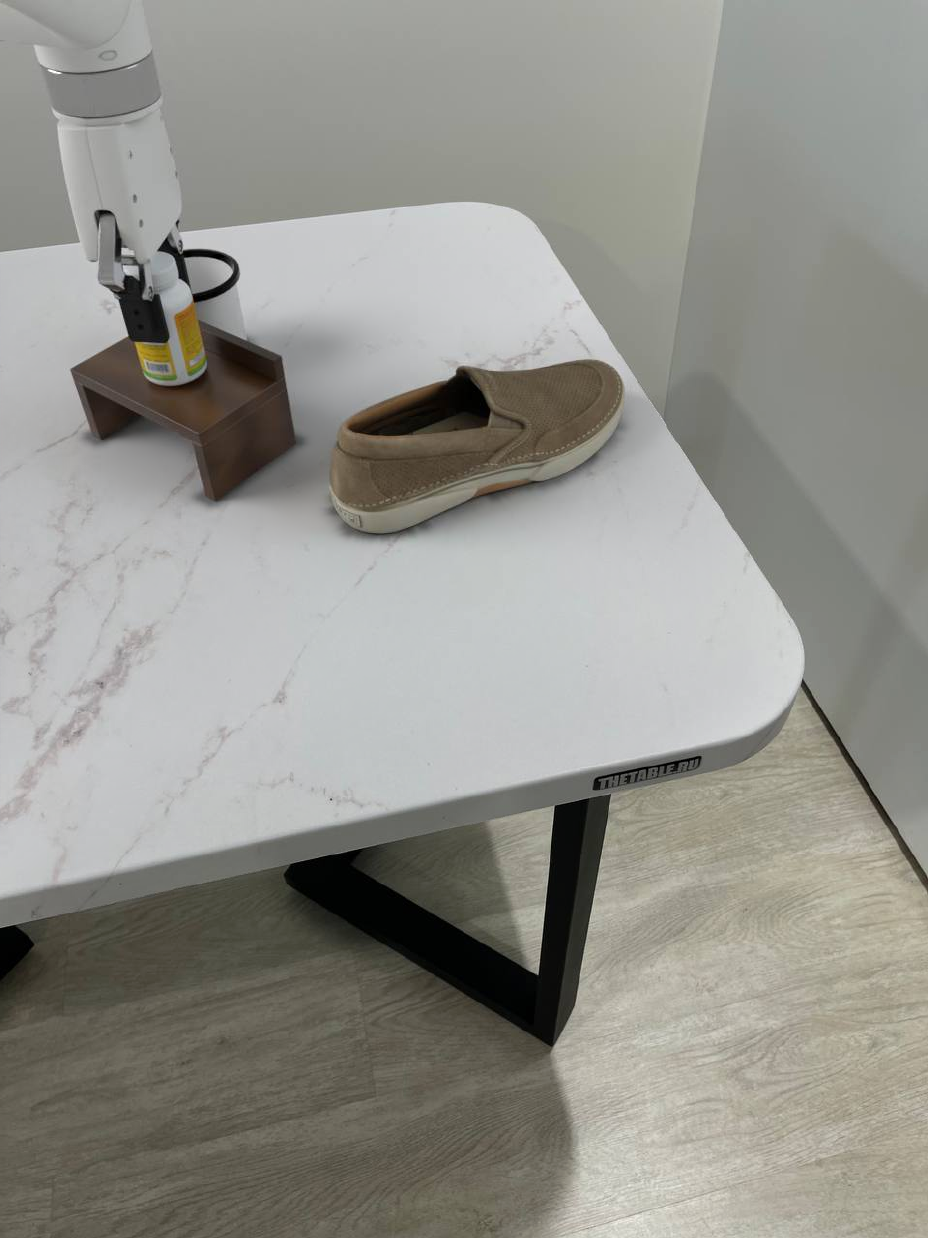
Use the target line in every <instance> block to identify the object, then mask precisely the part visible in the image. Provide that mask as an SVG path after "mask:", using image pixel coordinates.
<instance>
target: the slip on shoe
mask: <svg viewBox="0 0 928 1238" xmlns="http://www.w3.org/2000/svg"><path fill="white" fill-rule="evenodd" d="M624 383H625V382H624V381H623V378H622V377H621V376H620V374H619V372H618V371H617V370H616V368H615V367H613V366H612V365H610V364H608V363H607V362H605V361H602V360H598V359H592V358H591V359H589V358H587V359H586V358H585V359H575V360H571V361H565V362H559V363H555V364H551V365H548V366H543V367H537V368H532V369H521V370H519V369H518V370H509V371H508V370H506V371H503V370H501V371H500V370H489V369H484V368H480V367H475V366H471V365H460V366H458V367H457V368H456V369H455V374H454V375H452V376H451V377H449V378H448V379H447V380H441V381H437V382H434V383H431V384H428V385H425V386H421V387H417V388H415V389H412V390H408V391H406V392H402V393H401V394H397V395H394V396H393V397H389V398H387V399H385V400H382V401H379V402H377V403H375V404H372V405H370V406H367V407H366V408H364V409H362V410H360V411H357V412H356V413H354V414H353V415H350V416H349V417H348V418H346V419H345V420H344V421H343V422H342V423H341V425H340V427H339V429H338V431H337V440H336V441H335V443H334V445H333V448H332V454H331V459H330V460H331V461H330V465H329V466H330V467H329V473H328V476H329V477H328V479H329V487H328V488H329V491H330V497H331V501H332V504H333V507H334V509H335V510H336V512H337V514H338V515H339V516H340V518H341V519H342V520H343V521H344V522H345V523H346V524H348V525H349V526H350V527H351V528H353V529H356V530H358V531H361V532H365V533H370V534H390V533H396V532H399V531H400V532H401V531H403V530H405V529H408V528H411V527H413V526H416V525H418V524H420V523H422V522H424V521H427V520H429V519H430V518H433V517H434V516H437V515H438V514H440V513H443V512H445V511H447V510H450V509H452V508H454V507H456V506H458V505H461V504H463V503H465V502H467V501H469V500H471V499H474V498H477V497H479V496H483V495H485V494H490V493H493V492H498V491H502V490H507V489H510V488H513V487H514V488H515V487H518V486H521V485H525V484H530V483H531V482H543V481H548V480H550V479H554V478H556V477H559V476H562V475H564V474H566V473H568V472H571V471H572V470H573V469H576V468H577V467H578V466H580V465H582V464H583V463H585V462H587V460H589V459H590V458H591V457H592V456H593V455H595V454H596V453H597V452H598V451H599V450H600V449H601V448H603V446H604V445H605V444H606V443H607V441H608V440H610V438H611V436H612V435H613V433H614V432H615V430H616V428H617V427H618V425H619V422H620V420H621V417H622V414H623V410H624V407H625V401H626V400H625V399H626V387H625V384H624Z"/></svg>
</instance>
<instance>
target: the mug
mask: <svg viewBox="0 0 928 1238" xmlns="http://www.w3.org/2000/svg"><path fill="white" fill-rule="evenodd" d="M178 255H182V256H184V259H185V264H186V268H187V273H188V277H189V282H190V286H191V291H192V295H193V301H194V306H195V310H196V315H197V319H198V320H200V321H203V322H205V323H207V324H210V325H212V326H214V327H216V328H219V329H221V330H223V331H226V332H228V333H230V334H232V335H235V336H237V337H239V338H242V339H244V340H246V341H248V338H247V333H246V327H245V322H244V317H243V311H242V307H241V301H240V297H239V290H238V286H237V282H238V281H239V280H240V276H241V269H240V266H239V263H238V261H237V260H236V259H235V258H234V257H233V256H232V255H229V254H228V253H225V252H223V251H220V250H216V249H210V248H186V249H185V248H184V249H183V252H182V254H178Z"/></svg>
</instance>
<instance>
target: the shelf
mask: <svg viewBox="0 0 928 1238" xmlns="http://www.w3.org/2000/svg"><path fill="white" fill-rule="evenodd" d="M198 324H199V328H200V333H201V337H202V342H203V346H204V350H205V355H206V361H207V366H206V369H205V371H204V372H203V374H202V375H200V376H199V377H198V378H196V379H195V380H193V381H191V382H188V383H185V384H181V385H176V386H164V385H158V384H155V383H153V382H151V381H149V380H148V379H147V378H146V377H145V375H144V373H143V370H142V366H141V363H140V359H139V355H138V352H137V348H136V345H135V342H133V341H131V340H130V339H129V336H126V337H124V338H122V339H121V340H119V341H116V342H115V343H113V344H112V345H109V346H108V347H106V348H105V349H103V350H101V351H100V352H97V353H95V354H94V355H92V356H90V357H88V358H86V359H85V360H83V361H82V362H80V363H78V364H76V365H74V366H73V367H71V368H70V369H69V371H70V374H71V376H72V377H71V378H72V380H73V383H74V386H75V389H76V391H77V394H78V396H79V400H80V403H81V406H82V409H83V412H84V414H85V418H86V421H87V424H88V427H89V429H90V432H91V435H92V436H93V437H95V438H96V439H98V440H103V439H104V438H106V437H107V436H109V435H110V434H112V433H115V431H117V430H118V429H120V428H122V427H123V426H125V425H127V424H128V423H129V422H132V421H133V420H134V419H137V417H139V416H142V417H144V418H146V419H148V420H149V421H151V422H154V423H156V424H158V425H160V426H162V427H164V428H166V429H168V430H169V431H172V432H174V433H176V434H178V435H179V436H181V437H183V438H185V439H187V440H189V441H191V444H192V448H193V452H194V456H195V459H196V462H197V468H198V471H199V475H200V480H201V483H202V487H203V491H204V494H205V497H206V498H208V499H209V500H212V501H214V502H217V501H218V500H219V499H221V498H223V496H225V495H226V494H228V493H230V492H231V491H232V490H233V489H234V488H237V486H239V485H240V484H242V483H243V482H244V481H246V480H247V479H248V478H250V477H251V476H253V475H254V474H256V473H257V472H258V471H260V470H261V469H262V468H264V467H265V466H266V465H268V464H269V463H270V462H272V461H273V460H275V459H276V458H278V457H279V456H280V455H282V454H283V453H284V452H286V451H287V450H289V449H290V448H291V447H292V446H294V445H295V444H296V443H297V440H296V434H295V429H294V423H293V416H292V411H291V404H290V398H289V392H288V387H287V380H286V375H285V374H286V373H285V367H284V361H283V356H282V355H280V354H279V353H276V352H274V351H271V350H269V349H266V348H265V347H263V346H259V345H258V344H255V343H253V342H251V341H249V340H247V341H246V340H244V339H242V338H239V337H237V336H235V335H232V334H230V333H228V332H226V331H223V330H221V329H219V328H216V327H214V326H212V325H210V324H207V323H205V322H203V321H200V320H198Z"/></svg>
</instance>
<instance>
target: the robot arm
mask: <svg viewBox="0 0 928 1238" xmlns="http://www.w3.org/2000/svg"><path fill="white" fill-rule="evenodd" d="M148 27H149V26H148V22H147V17H146V13H145V8H144V4H143V0H0V42H9V43H17V44H25V45H32V46H33V48H34V51H35V55H36V59H37V61H38V65H39V68H40V72H41V77H42V80H43V83H44V85H45V86H44V87H45V89H46V93H47V97H48V100H49V103H50V106H51V110H52V114H53V115H54V117H55V118H57V120H58V122H57V124H56V128H57V129H56V130H57V139H58V147H59V153H60V160H61V161H60V162H61V165H62V172H63V177H64V182H65V185H66V191H67V194H68V199H69V203H70V208H71V212H72V216H73V220H74V224H75V226H76V227H75V228H76V231H77V232H76V233H77V235H78V239H79V243H80V246H81V248H82V253H83V255H84V257H85V259H86V260H87V261H88V262H90V263H96V262H97V281H98V282H97V283H98V284H99V285H101V286H103V287H105V288H106V289H108V290H109V291H110V292H111V293H113V297H114V299H115V300H118V305H119V308H120V311H121V315H122V318H123V322H124V326H125V329H126V332H127V335H128V336H129V339H130V340H131V341H133V342H147V343H167V342H168V340H169V338H170V335H169V331H168V327H167V323H166V319H165V315H164V311H163V307H162V303H161V299H160V295H159V294H154V290H153V282H152V273H151V264H150V259H151V257H152V256H153V255H154V254H155V253H156V251H159V252H165V253H168V254H170V255H172V256H173V257H174V259H175V262H176V266H177V270H178V278H179V279H181V280H182V281H184V282H185V283H186V284H187V285H188V286H189V288H190V290H191V286H190V282H189V277H188V273H187V268H186V264H185V259H184V256H182V255H178V254H182V252H183V250H184V242H183V239H182V236H181V234H180V231H179V224H180V220H179V218H180V216H181V213H182V210H183V198H182V192H181V186H180V185H181V184H180V180H179V175H178V171H177V166H176V162H175V158H174V155H173V151H172V147H171V142H170V139H169V135H168V131H167V128H166V124H165V122H164V121H165V120H164V118H163V115H162V112H161V106H162V105H163V103H164V98H163V93H162V89H161V84H160V79H159V74H158V70H157V65H156V60H155V56H154V51H153V47H152V46H153V45H152V42H151V38H150V37H151V36H150V32H149V28H148ZM123 249H128V250H129V251H133V254H122V251H123ZM124 265H128V266H138V271H139V280H140V281H139V280H138V279H136V278H135V277H134V276H132V275H126V274H125V271H124ZM191 293H192V291H191ZM192 297H193V295H192ZM128 336H127V337H128Z"/></svg>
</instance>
